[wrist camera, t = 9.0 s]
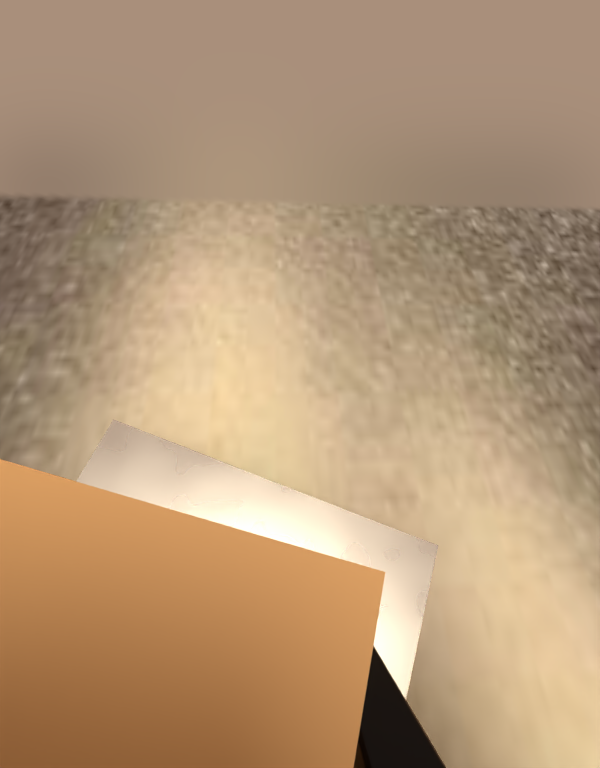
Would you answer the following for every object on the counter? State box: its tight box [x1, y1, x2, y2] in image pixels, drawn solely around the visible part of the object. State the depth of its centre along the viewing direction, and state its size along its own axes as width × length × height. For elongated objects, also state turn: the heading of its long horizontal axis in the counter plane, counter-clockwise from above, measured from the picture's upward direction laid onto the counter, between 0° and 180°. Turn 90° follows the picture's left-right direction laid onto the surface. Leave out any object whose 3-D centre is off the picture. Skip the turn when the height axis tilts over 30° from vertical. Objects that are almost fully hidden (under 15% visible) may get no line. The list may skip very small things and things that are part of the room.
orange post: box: [0, 459, 385, 768], centre depth 9 cm, size 4×4×13 cm
